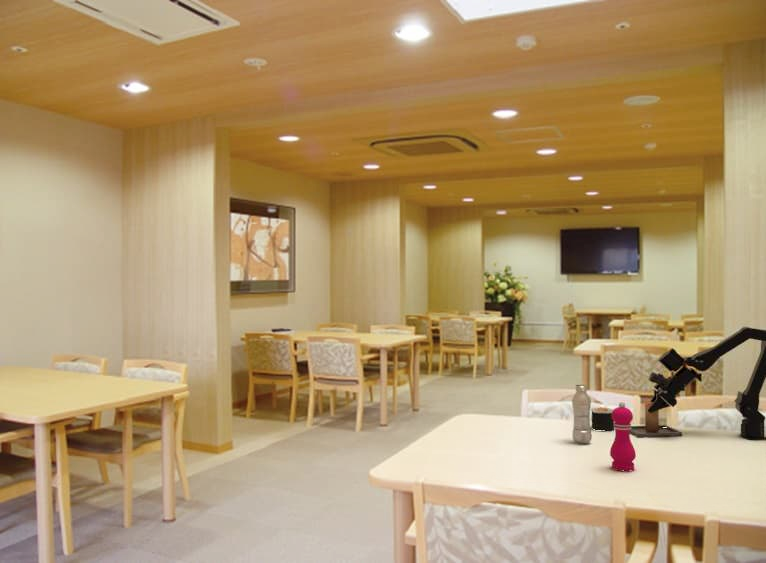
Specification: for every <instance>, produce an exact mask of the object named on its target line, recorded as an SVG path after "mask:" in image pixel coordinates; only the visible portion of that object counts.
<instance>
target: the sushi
mask: <svg viewBox="0 0 766 563" xmlns="http://www.w3.org/2000/svg"><path fill="white" fill-rule="evenodd" d="M613 410H614V409H612V408H609V407H602V406H599V407H593V408H590V411H591V429H592V428H593V429H595V430H605V431H604V432H606V431H609V432H613V431H614V430H615V428H614V423H615V422H614V420H613V419H612V411H613ZM593 429H592V430H593ZM612 430H613V431H612Z"/></svg>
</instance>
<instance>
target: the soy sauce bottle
mask: <svg viewBox="0 0 766 563" xmlns="http://www.w3.org/2000/svg"><path fill="white" fill-rule="evenodd" d="M653 403H654V402H650V401H647V403H644V413H645V414H644V421H645V424H644V426H645V430H646V431H650V432H658V431H659V425H660V418H659V415H660V414H659V413H660V412H659V410H657V411H654V412H651V413H649V412H648V409H649V408H650V406H651V405H652V404H653Z"/></svg>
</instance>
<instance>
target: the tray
mask: <svg viewBox="0 0 766 563" xmlns="http://www.w3.org/2000/svg"><path fill="white" fill-rule="evenodd" d="M663 427H667V428H663ZM629 434H630V435H632V436H634V437H635V438H638V439H640V438H641V439H642V438H644V437H648V438H668V437H669V438H670V437H671V438H673V437H683V432H682V431H680V430H677V429H675V428H673V427H671V426H668V425H666V424H659V431H658V432H650V431H646V430H645V425H631V429H630V433H629ZM644 439H645V438H644Z"/></svg>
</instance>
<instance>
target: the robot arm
mask: <svg viewBox="0 0 766 563" xmlns="http://www.w3.org/2000/svg"><path fill="white" fill-rule="evenodd" d="M750 339H751V340H755V341H760V352H759V355H758V358H757V360H756V362H755V365H754V368H753V370H752V373H751V376H750V378H749V381H748V382H747V386H746V388H745V389H744V390H743V391H742V392H741V391H739V390H738V392H737V395H736V398H735V399H734V401H733V402H734V403H735V409H736V411H737V412H739V413H740V414H741V417H742V418H743V419H741V423H740V433H739V435H740V437H742V438H744V437H745V439H747V440H750V441H751V440H754V439H756V440H766V436H765V419H766V416H765V415H764V414H762V413H761V411H759V407H760V406H759V405H760V394H761V392H762V391H761V390H762V388H763V385H764V383H765V380H766V329H760V328H755V327H754V328H753V327H748V326H742V327H741V328H740V329H739V330H738V331H736V332H735V333H733V334H731V335H730V336H728V337H726V338H724V340H721V341H720V342H719V343H717V344H715V345H713V346H712V347H710V348H708V349H705V350H701V351H699V352H697V353H694V354H693V355H692V356H687V357H686V356H685V357H682V356H681V355H680V354H679V353H678V352H677V350H675V349H674V348H673V347H672V348H670V349H669V350H667V351H666V352H664V353H663V354H662V355H661V356H660V357H659V358H658V359H657V361H658V362H659V363H660V364H661V365H662V366H664V367H665V368H666V369H667V371H668V372H670V373H671V372H674V374H673V375H672V376H671V375H669V376H667V377H666V376H664V374H662V373H656V372H654V371H651V373H650V375H649V377H648V381H649V382H651V383H654V384H655V385H653V387H654V388H653V397H652V398H651V399H650V401H649V402H654V403H653V404H652V405H651V406H650V408H649V409H648V412H649V413H651V412H654V411H657V410H662V409H665V408H670V407H672V408H674V407H675V406H676V405H677V403H678V401H677V397H678V395H679V394H680V393H681V392H684V391H686V388H687V387H688V386H689V385H690V384H691V383H692V382H693V381H695V379H696V380H698V381H699V382H700V383H701V382H703V381H702V380H703V378H702V375H703V374H702V373H701V372H705V371H707V370H709V369H710V368H711V367H712V366H713V365H714V364H716V362H717V361H718V360H719V359H721V357H723V356H724V355H726V354H728V353H729V352H731V351H732V350H734V349H735V348H738V346H740V345H741V344H743V343H745V342H746V341H748V340H750ZM685 364H686V365H687V366H688V367H690V368H688V367H687V366H686V365H685ZM696 370H697V371H699V372H697V371H696ZM739 435H738V436H739Z"/></svg>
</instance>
